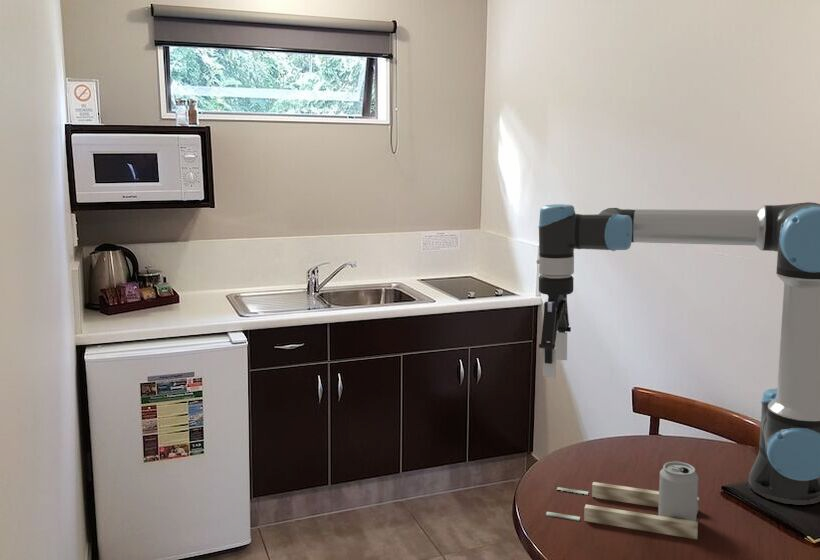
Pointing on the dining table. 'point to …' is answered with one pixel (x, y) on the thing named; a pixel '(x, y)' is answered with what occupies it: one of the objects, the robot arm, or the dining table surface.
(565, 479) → the dining table surface
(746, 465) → the dining table surface
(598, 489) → the chute
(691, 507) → the can
